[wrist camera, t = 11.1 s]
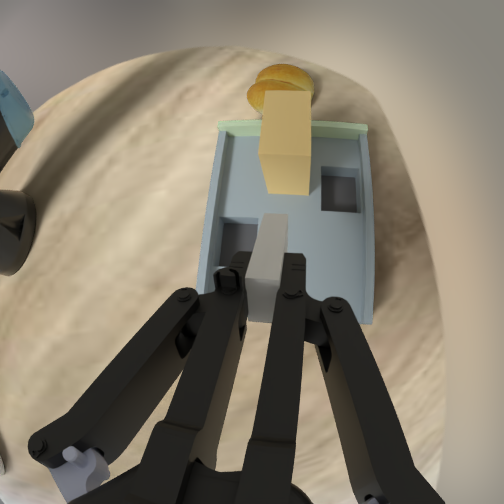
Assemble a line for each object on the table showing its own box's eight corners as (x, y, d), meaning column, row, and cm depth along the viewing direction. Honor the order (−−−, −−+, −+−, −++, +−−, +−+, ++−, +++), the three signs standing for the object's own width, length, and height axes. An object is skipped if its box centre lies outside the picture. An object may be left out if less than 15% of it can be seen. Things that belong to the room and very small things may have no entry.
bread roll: (240, 113, 34) (234, 93, 30) (266, 72, 35) (263, 52, 32) (300, 129, 32) (299, 108, 28) (321, 84, 33) (322, 64, 30)
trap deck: (362, 323, 26) (374, 324, 22) (206, 312, 29) (190, 311, 25) (360, 146, 30) (367, 124, 26) (227, 143, 33) (218, 121, 29)
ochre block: (308, 195, 27) (311, 155, 20) (268, 193, 28) (257, 154, 21) (309, 138, 29) (310, 91, 22) (273, 136, 29) (265, 90, 22)
